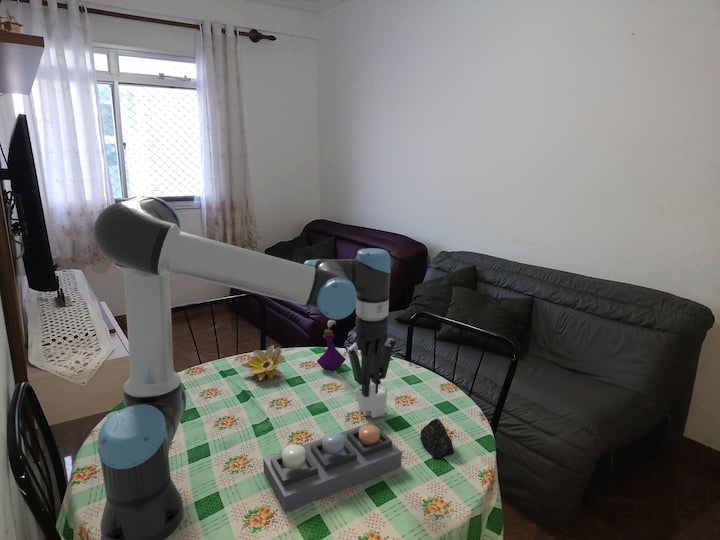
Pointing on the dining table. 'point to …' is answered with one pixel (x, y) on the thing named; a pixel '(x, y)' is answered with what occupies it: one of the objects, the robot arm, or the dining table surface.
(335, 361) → the perfume bottle
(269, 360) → the decorative flower
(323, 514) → the dining table surface
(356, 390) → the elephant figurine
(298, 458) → the ivory button
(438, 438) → the rock
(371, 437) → the terracotta button
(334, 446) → the slate button
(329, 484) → the console
